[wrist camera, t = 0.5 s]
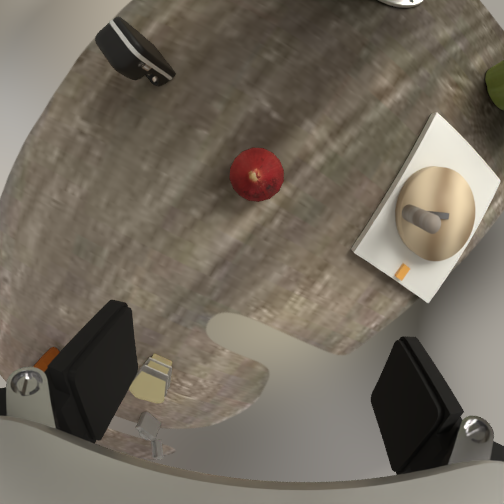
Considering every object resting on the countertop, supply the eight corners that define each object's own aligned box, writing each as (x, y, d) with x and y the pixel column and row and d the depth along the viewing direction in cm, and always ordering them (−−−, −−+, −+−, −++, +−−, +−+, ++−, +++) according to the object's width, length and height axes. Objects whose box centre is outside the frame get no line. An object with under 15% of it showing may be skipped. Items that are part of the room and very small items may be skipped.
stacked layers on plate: (139, 336, 44) (126, 355, 39) (190, 358, 44) (182, 381, 39) (130, 375, 47) (119, 394, 42) (175, 395, 47) (167, 416, 42)
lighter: (141, 413, 50) (128, 441, 42) (146, 411, 49) (133, 440, 42) (167, 433, 51) (157, 461, 44) (172, 431, 51) (162, 460, 43)
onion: (292, 175, 35) (298, 180, 27) (256, 206, 36) (252, 219, 29) (260, 139, 34) (257, 134, 26) (224, 171, 35) (211, 175, 27)
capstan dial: (470, 172, 31) (507, 179, 23) (460, 256, 34) (492, 278, 27) (398, 160, 31) (430, 163, 24) (390, 255, 35) (416, 280, 27)
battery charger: (130, 60, 31) (85, 35, 20) (152, 42, 30) (113, 10, 19) (154, 94, 32) (111, 74, 21) (178, 76, 31) (143, 48, 21)
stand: (431, 113, 31) (439, 111, 29) (494, 179, 32) (503, 181, 30) (350, 248, 37) (354, 254, 35) (424, 298, 39) (429, 305, 37)
